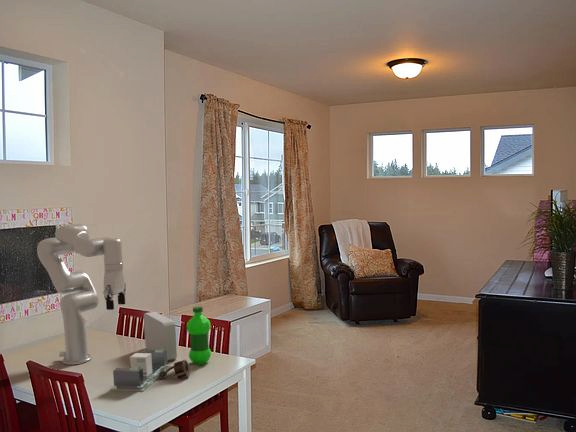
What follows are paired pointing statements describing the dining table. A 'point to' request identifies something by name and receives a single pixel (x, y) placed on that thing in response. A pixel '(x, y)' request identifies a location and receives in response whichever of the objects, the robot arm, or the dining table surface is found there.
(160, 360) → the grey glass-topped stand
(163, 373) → the brown antique clock
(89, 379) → the dining table surface
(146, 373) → the block
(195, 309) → the plastic bottle
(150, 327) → the rounded white slab
